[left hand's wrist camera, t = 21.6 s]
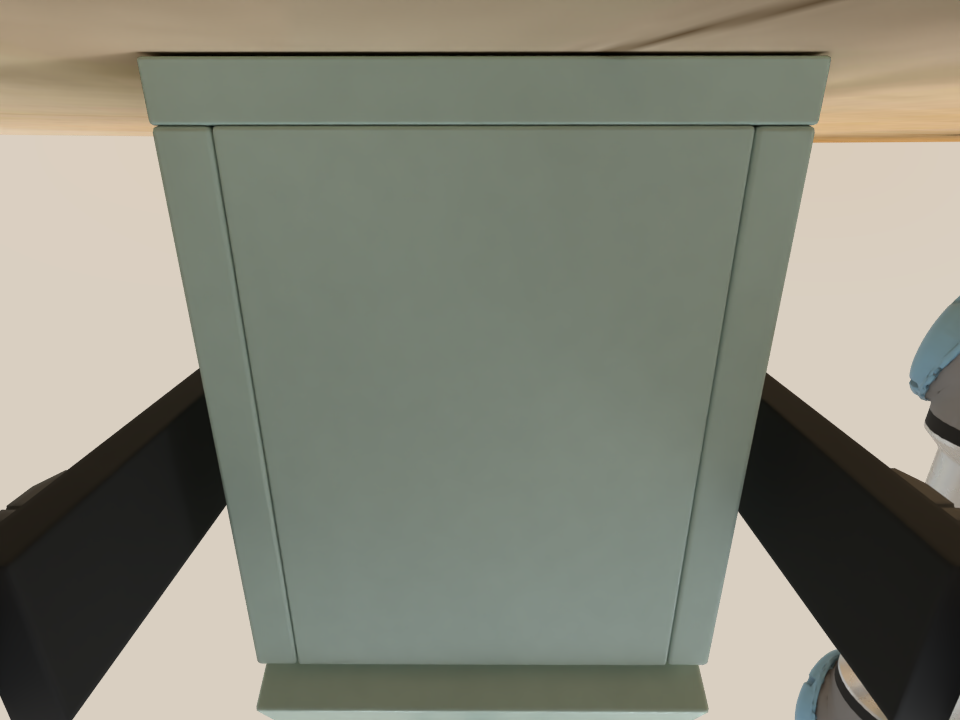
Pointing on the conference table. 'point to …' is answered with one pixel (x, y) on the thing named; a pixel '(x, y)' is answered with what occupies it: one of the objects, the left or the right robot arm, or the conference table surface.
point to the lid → (481, 692)
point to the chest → (483, 338)
